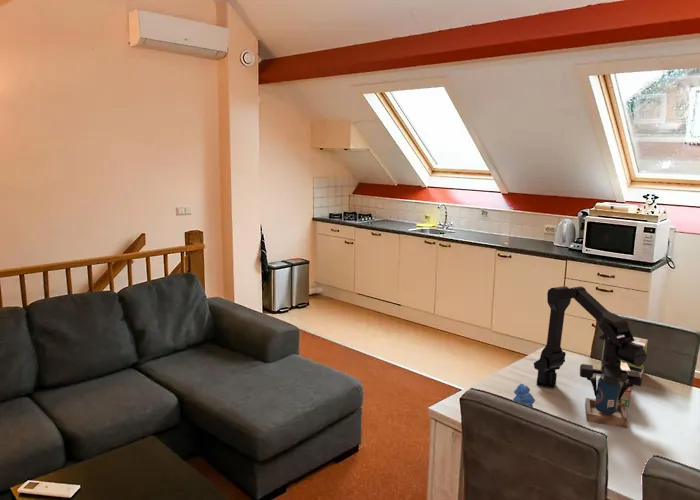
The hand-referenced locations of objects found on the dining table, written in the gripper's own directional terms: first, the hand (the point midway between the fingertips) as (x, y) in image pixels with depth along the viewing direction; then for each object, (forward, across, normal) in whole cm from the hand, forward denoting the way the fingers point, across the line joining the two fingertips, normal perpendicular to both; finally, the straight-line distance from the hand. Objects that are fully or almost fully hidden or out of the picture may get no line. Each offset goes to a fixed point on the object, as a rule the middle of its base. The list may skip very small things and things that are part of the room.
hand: (607, 397), depth 186 cm
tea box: (+7, +9, +43) cm, 44 cm away
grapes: (+7, -26, -11) cm, 29 cm away
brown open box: (+7, 0, 0) cm, 7 cm away
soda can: (+5, 0, 0) cm, 5 cm away
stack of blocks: (+7, +5, +20) cm, 22 cm away
